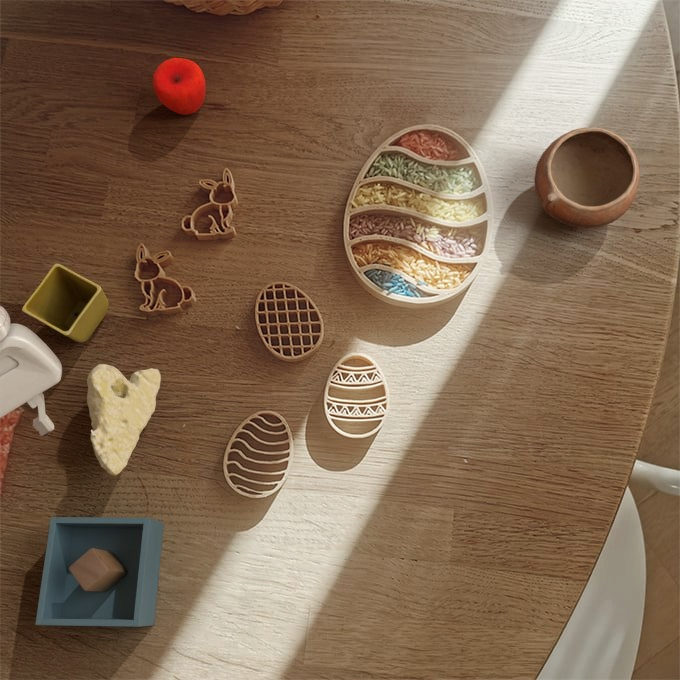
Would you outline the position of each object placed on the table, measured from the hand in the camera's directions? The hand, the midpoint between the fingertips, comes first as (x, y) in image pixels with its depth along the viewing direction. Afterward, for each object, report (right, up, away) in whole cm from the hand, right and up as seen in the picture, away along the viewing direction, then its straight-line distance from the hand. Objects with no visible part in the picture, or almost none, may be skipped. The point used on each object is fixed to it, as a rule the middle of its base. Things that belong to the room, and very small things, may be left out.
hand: (10, 455), depth 80 cm
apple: (+9, +54, +49) cm, 74 cm away
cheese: (+6, 0, +29) cm, 30 cm away
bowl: (+75, +36, +38) cm, 92 cm away
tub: (+4, -20, +22) cm, 30 cm away
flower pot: (-4, +16, +36) cm, 39 cm away
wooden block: (+4, -20, +21) cm, 29 cm away
